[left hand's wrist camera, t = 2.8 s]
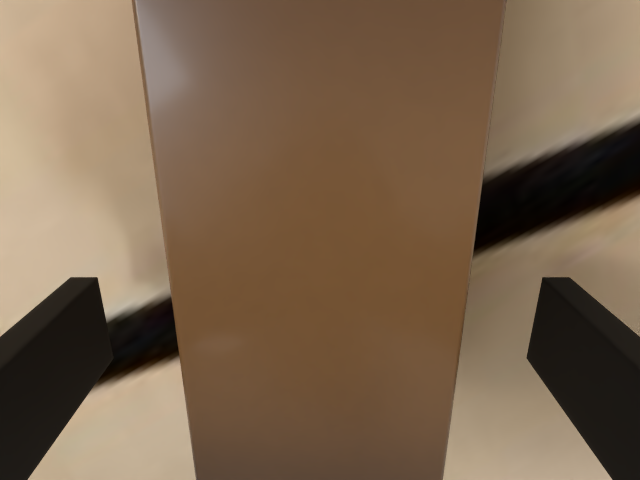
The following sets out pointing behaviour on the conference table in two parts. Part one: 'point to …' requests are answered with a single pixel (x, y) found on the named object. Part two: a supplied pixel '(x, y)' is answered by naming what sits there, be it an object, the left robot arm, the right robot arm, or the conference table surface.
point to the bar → (319, 223)
